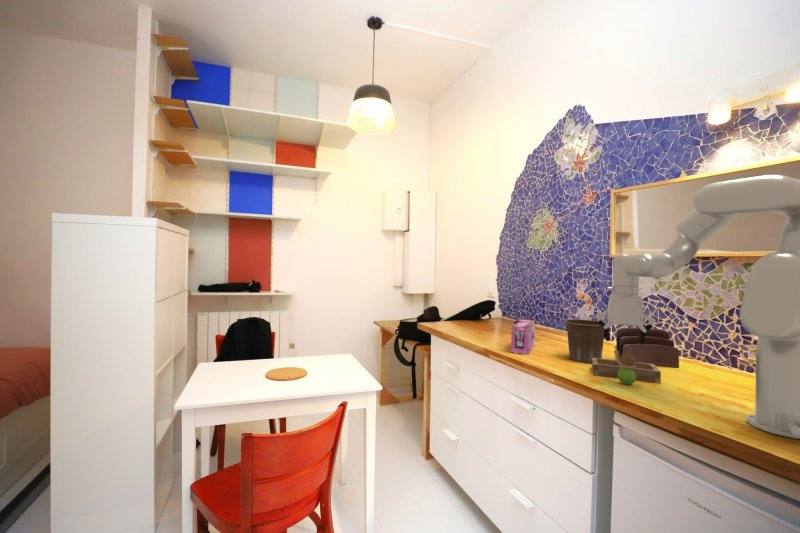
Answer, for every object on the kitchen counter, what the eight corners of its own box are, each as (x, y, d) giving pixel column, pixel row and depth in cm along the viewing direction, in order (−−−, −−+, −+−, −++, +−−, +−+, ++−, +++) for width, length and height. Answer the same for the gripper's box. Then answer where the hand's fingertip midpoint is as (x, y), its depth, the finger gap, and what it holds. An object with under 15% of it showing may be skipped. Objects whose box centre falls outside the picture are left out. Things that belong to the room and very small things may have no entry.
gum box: (528, 355, 162) (528, 324, 162) (509, 353, 166) (510, 323, 166) (534, 346, 184) (535, 319, 184) (518, 344, 187) (518, 317, 187)
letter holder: (615, 358, 161) (616, 326, 161) (668, 362, 155) (669, 329, 155) (622, 364, 151) (623, 329, 151) (679, 368, 146) (679, 332, 146)
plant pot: (603, 367, 145) (604, 326, 145) (559, 360, 154) (560, 321, 155) (609, 359, 158) (610, 321, 158) (569, 354, 167) (569, 318, 168)
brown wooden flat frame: (660, 383, 124) (660, 371, 124) (593, 375, 133) (593, 364, 133) (653, 374, 135) (653, 363, 135) (591, 367, 143) (592, 357, 143)
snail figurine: (615, 380, 127) (615, 345, 128) (637, 384, 123) (637, 347, 124) (612, 383, 123) (612, 347, 123) (634, 387, 119) (635, 350, 119)
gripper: (596, 290, 124) (595, 341, 124) (658, 293, 117) (656, 347, 117) (595, 288, 131) (593, 337, 131) (654, 291, 124) (652, 343, 124)
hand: (623, 342), depth 124 cm, fingers open, 9 cm apart
